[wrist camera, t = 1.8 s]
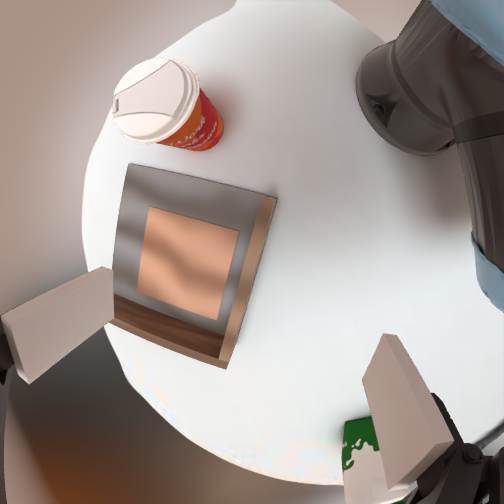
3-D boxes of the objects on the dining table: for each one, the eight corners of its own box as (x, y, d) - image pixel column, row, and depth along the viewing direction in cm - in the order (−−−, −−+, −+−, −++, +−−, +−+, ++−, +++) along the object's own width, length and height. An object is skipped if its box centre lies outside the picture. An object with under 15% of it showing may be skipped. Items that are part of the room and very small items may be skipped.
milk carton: (384, 437, 37) (403, 520, 17) (338, 446, 38) (344, 534, 19) (390, 408, 35) (419, 502, 16) (338, 419, 37) (349, 520, 17)
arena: (130, 163, 32) (104, 160, 26) (277, 198, 31) (274, 199, 25) (112, 297, 37) (89, 312, 31) (235, 344, 36) (226, 369, 30)
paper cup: (175, 164, 32) (106, 152, 18) (171, 108, 30) (107, 71, 16) (236, 154, 30) (197, 128, 17) (230, 95, 29) (191, 40, 15)
